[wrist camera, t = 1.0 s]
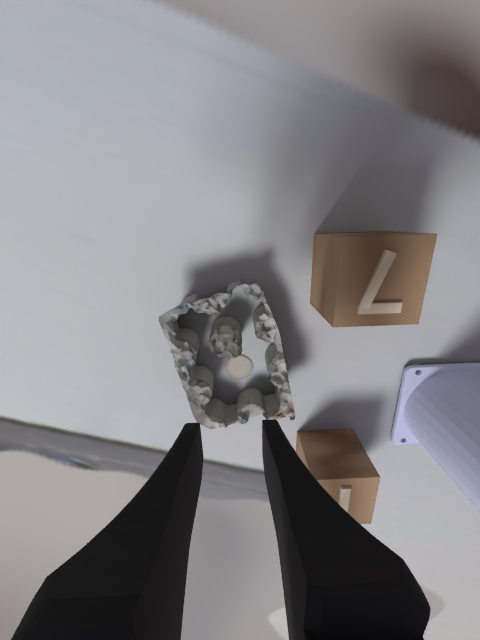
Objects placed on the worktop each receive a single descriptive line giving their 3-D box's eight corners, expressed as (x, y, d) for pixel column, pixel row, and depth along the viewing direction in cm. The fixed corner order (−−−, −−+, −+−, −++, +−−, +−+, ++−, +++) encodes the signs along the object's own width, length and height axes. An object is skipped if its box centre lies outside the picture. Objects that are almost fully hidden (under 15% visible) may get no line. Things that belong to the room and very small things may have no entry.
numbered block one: (351, 427, 24) (381, 479, 19) (346, 469, 26) (372, 525, 21) (296, 430, 24) (313, 482, 19) (294, 471, 26) (309, 529, 21)
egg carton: (289, 391, 23) (300, 425, 19) (205, 410, 23) (200, 446, 20) (263, 271, 19) (271, 283, 16) (165, 295, 20) (149, 313, 16)
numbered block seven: (385, 231, 19) (440, 233, 14) (375, 300, 20) (420, 325, 15) (313, 233, 18) (342, 237, 14) (309, 303, 20) (334, 328, 15)
